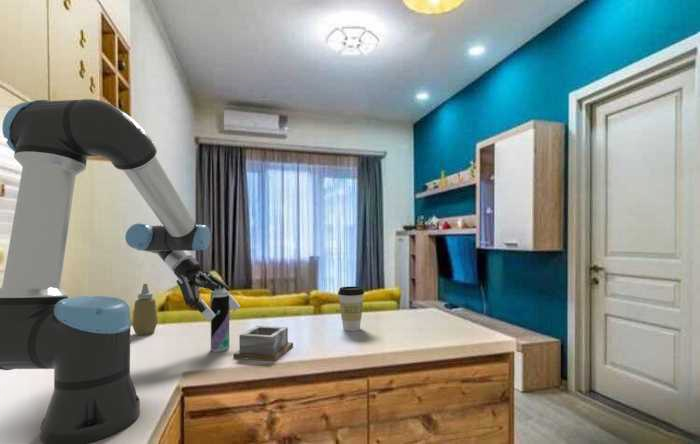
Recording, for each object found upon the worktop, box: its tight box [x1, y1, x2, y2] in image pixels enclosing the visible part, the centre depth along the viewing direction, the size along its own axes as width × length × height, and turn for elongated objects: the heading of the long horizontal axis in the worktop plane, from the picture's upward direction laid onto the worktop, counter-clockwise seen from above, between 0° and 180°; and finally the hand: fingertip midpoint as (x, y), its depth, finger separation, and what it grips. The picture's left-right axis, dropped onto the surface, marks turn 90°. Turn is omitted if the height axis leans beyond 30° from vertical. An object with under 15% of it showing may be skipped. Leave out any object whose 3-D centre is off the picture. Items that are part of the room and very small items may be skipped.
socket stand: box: [232, 325, 294, 362], centre depth 107 cm, size 13×13×6 cm
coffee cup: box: [337, 285, 365, 332], centre depth 132 cm, size 10×10×15 cm
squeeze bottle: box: [131, 283, 158, 336], centre depth 130 cm, size 8×8×18 cm
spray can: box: [210, 284, 230, 353], centre depth 111 cm, size 6×6×20 cm
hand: (225, 313), depth 110 cm, fingers open, 13 cm apart
